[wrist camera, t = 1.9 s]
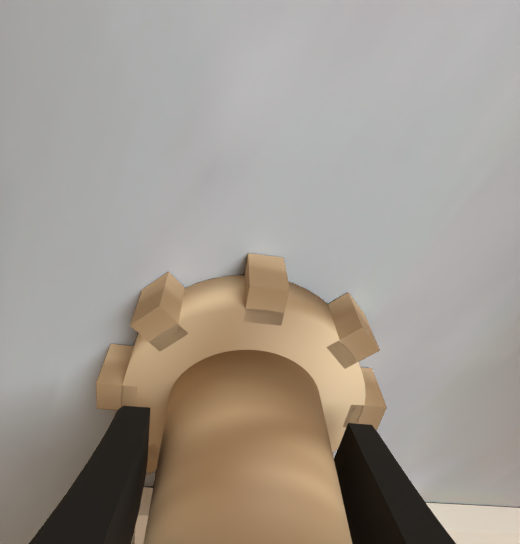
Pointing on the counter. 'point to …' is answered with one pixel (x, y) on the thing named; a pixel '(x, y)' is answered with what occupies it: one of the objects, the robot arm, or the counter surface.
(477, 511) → the carrier board
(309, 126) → the counter surface
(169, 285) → the gear
